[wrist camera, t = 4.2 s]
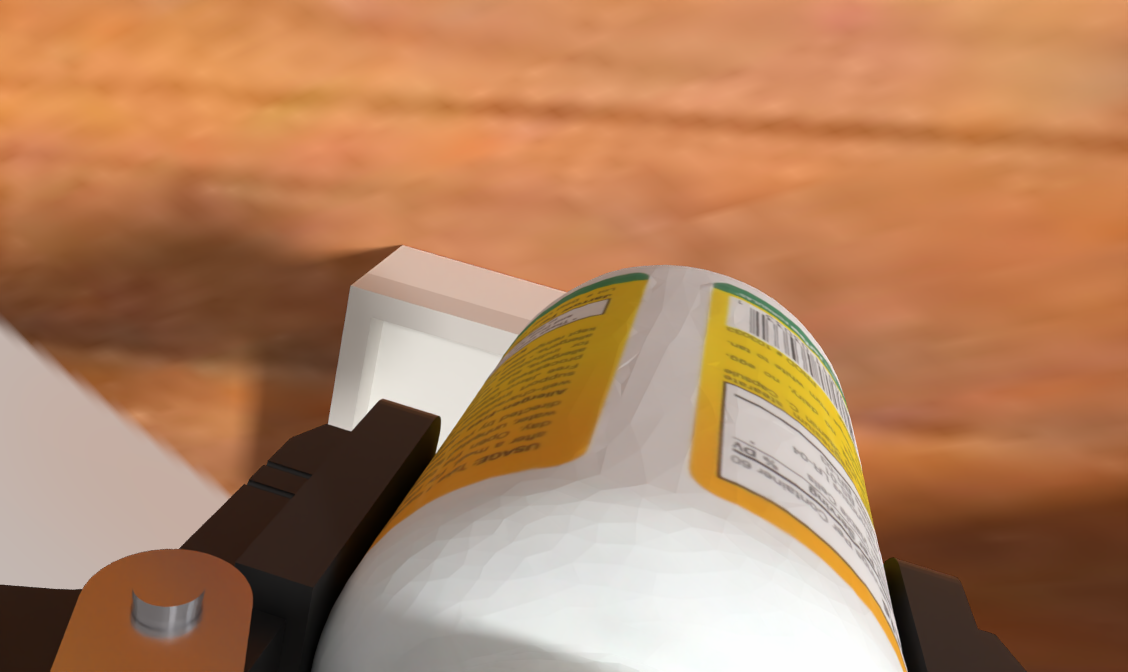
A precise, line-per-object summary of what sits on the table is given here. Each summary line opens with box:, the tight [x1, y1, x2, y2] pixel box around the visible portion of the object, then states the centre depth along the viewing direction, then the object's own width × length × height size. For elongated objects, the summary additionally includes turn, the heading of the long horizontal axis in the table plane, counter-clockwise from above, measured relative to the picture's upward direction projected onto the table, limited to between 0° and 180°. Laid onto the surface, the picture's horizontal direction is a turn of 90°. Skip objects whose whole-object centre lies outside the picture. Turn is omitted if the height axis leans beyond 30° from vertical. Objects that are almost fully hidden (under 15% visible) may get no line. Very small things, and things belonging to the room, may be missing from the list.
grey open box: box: [328, 245, 567, 453], centre depth 28 cm, size 8×8×4 cm
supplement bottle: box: [311, 265, 908, 672], centre depth 10 cm, size 5×5×10 cm
